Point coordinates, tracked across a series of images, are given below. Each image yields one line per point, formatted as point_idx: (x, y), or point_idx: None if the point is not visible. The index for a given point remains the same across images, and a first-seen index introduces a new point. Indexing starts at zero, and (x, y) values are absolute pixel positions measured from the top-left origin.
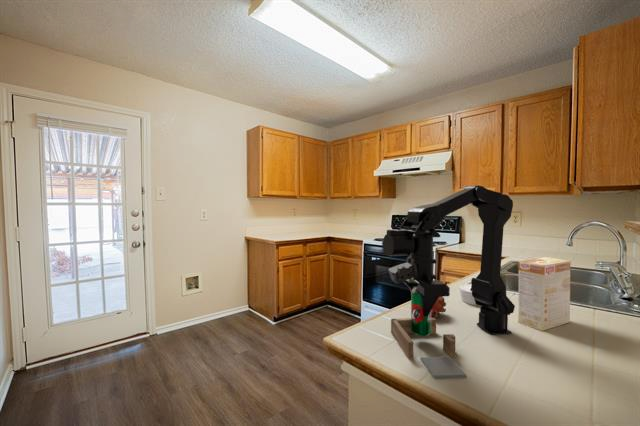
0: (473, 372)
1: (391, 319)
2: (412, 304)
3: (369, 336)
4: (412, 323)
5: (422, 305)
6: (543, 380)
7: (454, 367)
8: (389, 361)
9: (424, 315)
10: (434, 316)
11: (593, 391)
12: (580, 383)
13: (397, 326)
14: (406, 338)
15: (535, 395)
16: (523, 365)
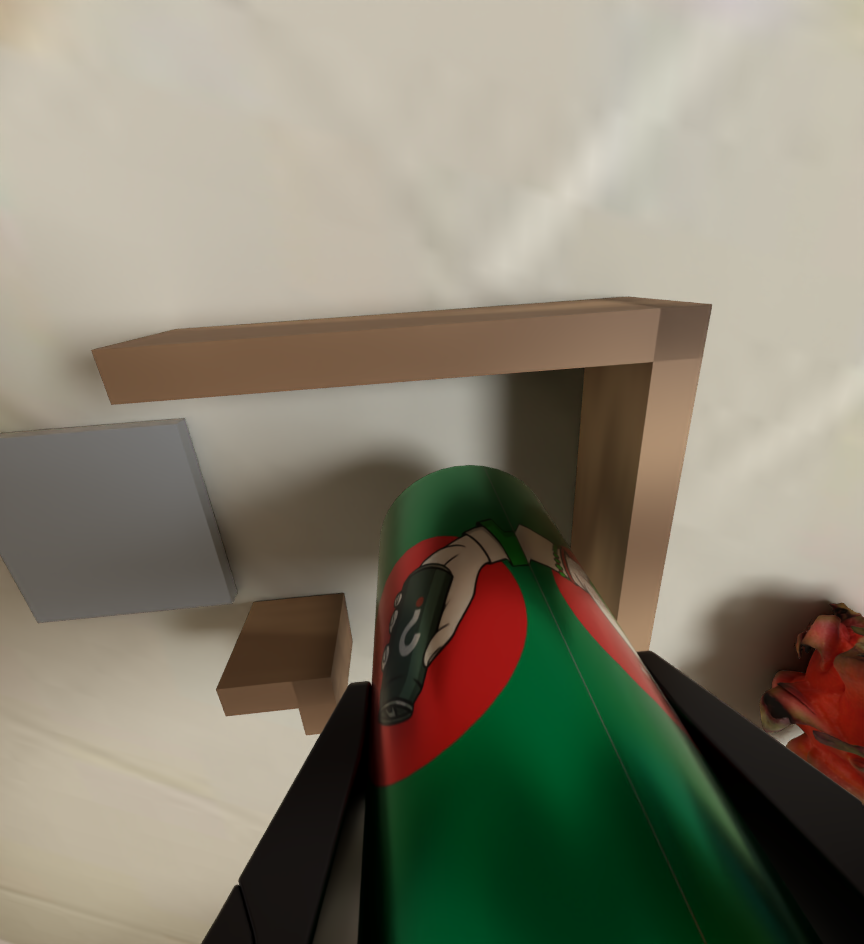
0: (119, 656)
1: (696, 305)
2: (515, 690)
3: (579, 7)
4: (455, 503)
5: (282, 858)
6: (139, 847)
7: (99, 590)
8: (88, 130)
9: (346, 698)
10: (782, 678)
11: (113, 922)
12: (155, 916)
13: (488, 328)
14: (187, 352)
15: (7, 793)
16: (244, 835)
